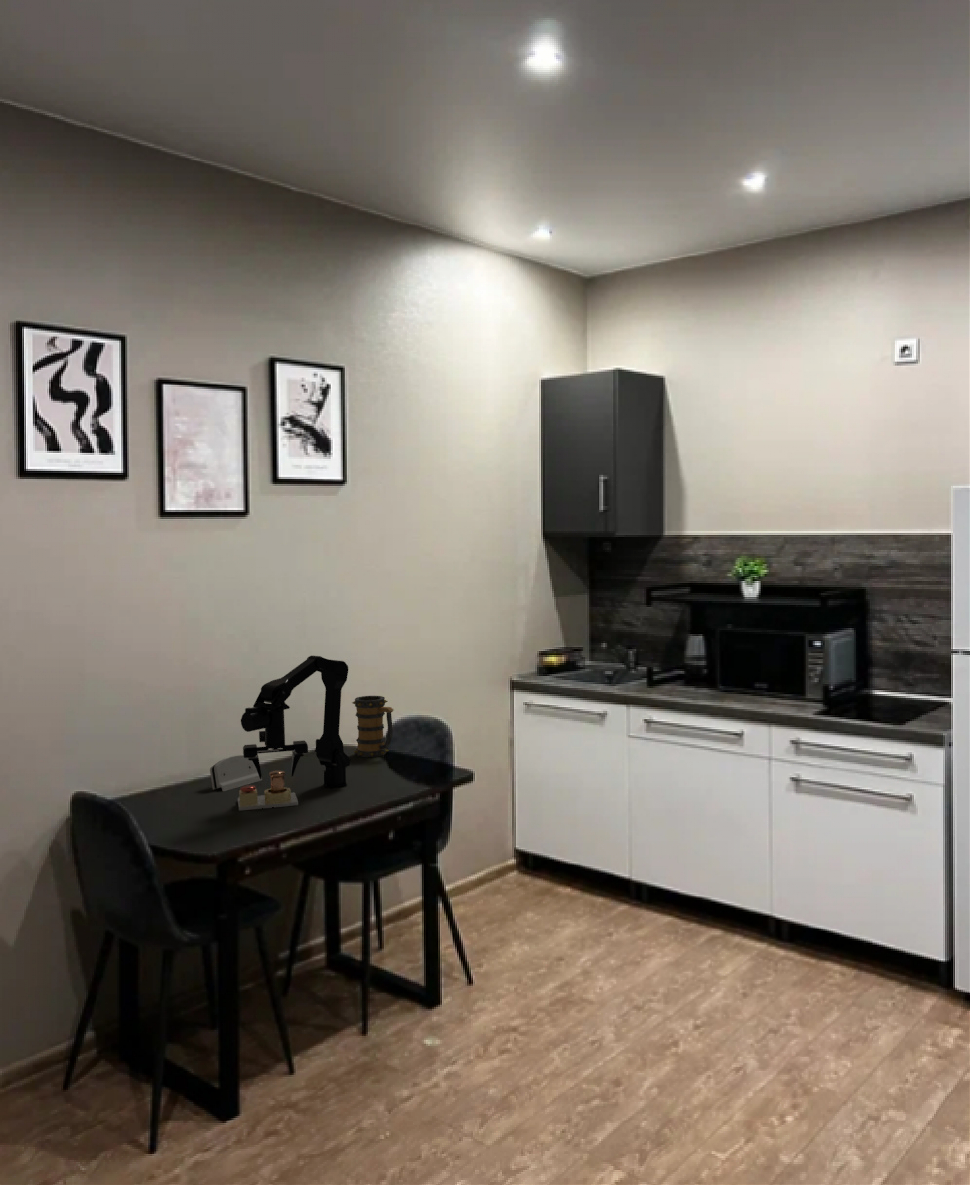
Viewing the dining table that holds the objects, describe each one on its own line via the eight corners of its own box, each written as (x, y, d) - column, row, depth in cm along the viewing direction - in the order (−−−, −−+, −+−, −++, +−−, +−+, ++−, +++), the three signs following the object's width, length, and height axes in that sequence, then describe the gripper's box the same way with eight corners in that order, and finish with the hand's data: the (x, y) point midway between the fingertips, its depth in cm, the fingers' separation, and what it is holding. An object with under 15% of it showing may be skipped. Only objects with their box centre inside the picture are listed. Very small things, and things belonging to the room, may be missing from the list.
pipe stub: (284, 795, 311) (284, 769, 311) (286, 799, 307) (285, 773, 306) (269, 797, 310) (268, 771, 309) (270, 801, 305) (270, 774, 305)
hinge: (222, 791, 321) (214, 760, 323) (213, 794, 324) (205, 763, 325) (263, 779, 335) (255, 749, 336) (254, 782, 338) (246, 753, 339)
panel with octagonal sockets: (294, 795, 315) (294, 778, 315) (298, 805, 304) (297, 787, 304) (237, 800, 310) (237, 783, 310) (239, 810, 300) (238, 792, 300)
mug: (370, 747, 378) (368, 693, 376) (406, 753, 367) (404, 698, 366) (345, 755, 367) (343, 699, 366) (381, 761, 357) (380, 703, 356)
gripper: (303, 718, 317) (305, 768, 318) (241, 723, 312) (243, 773, 313) (307, 725, 306) (309, 777, 307) (242, 730, 301) (244, 782, 302)
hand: (276, 777), depth 308 cm, fingers open, 9 cm apart
